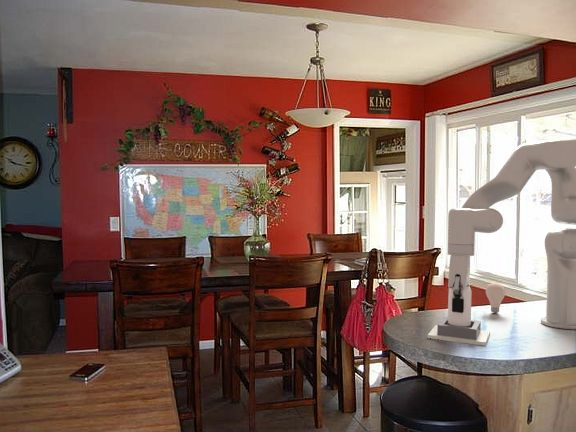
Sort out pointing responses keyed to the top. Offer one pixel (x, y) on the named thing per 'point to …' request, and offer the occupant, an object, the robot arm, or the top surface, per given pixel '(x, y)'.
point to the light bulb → (495, 296)
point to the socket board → (460, 333)
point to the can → (460, 318)
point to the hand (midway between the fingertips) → (459, 309)
